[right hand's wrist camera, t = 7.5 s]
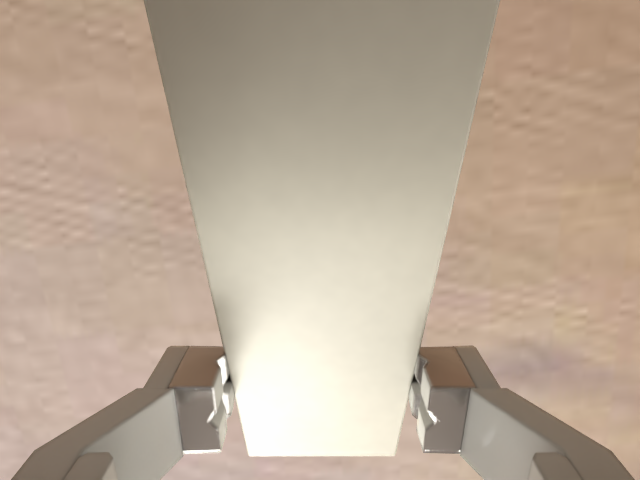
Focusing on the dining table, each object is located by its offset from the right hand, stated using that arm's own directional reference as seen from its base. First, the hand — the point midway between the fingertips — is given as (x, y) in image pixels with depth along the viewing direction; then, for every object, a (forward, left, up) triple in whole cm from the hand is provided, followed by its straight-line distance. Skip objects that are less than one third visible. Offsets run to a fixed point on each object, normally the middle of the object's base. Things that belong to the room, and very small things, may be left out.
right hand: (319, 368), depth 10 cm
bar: (+2, +9, -5) cm, 11 cm away
